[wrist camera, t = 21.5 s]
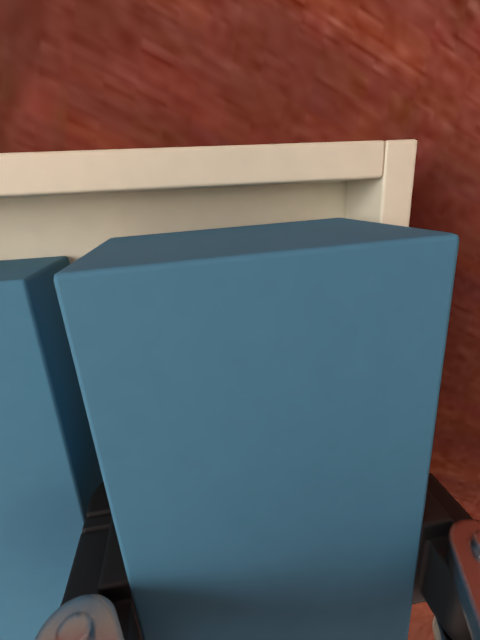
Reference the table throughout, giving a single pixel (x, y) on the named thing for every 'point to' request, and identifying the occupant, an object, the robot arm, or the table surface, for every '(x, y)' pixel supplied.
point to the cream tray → (194, 191)
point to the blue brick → (39, 448)
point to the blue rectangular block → (265, 420)
